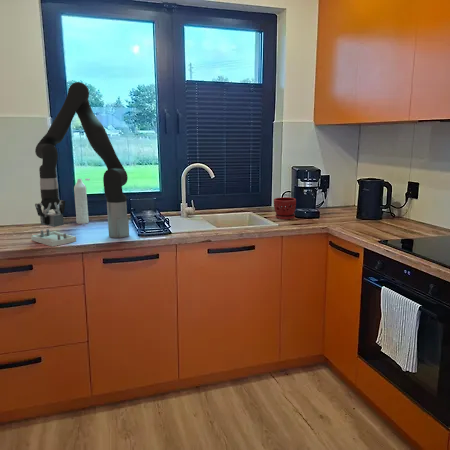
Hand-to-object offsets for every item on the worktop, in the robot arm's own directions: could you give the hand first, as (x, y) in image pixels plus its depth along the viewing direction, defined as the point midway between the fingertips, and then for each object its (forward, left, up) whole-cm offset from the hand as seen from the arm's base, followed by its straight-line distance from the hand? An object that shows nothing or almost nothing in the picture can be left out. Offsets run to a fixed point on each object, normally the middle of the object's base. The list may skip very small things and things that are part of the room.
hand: (52, 223), depth 194 cm
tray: (-1, 0, -8) cm, 8 cm away
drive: (0, 0, -1) cm, 1 cm away
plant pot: (-60, -114, -8) cm, 129 cm away
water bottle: (+23, -33, -8) cm, 41 cm away
